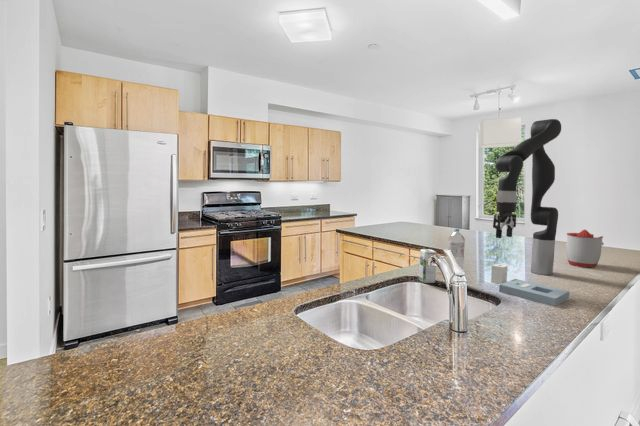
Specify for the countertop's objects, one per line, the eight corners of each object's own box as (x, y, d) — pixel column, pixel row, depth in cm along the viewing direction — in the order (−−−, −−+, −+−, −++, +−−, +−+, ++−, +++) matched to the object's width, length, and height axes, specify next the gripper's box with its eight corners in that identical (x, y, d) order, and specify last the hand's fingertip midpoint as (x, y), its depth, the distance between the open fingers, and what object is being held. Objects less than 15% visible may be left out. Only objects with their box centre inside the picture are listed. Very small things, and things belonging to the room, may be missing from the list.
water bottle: (455, 287, 141) (458, 230, 139) (442, 283, 147) (445, 228, 145) (466, 285, 144) (469, 229, 142) (453, 281, 150) (455, 227, 148)
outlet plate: (514, 285, 145) (515, 278, 145) (568, 298, 129) (569, 290, 128) (499, 291, 137) (499, 283, 136) (554, 306, 121) (555, 297, 120)
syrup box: (418, 279, 153) (419, 249, 152) (430, 279, 153) (431, 248, 152) (423, 283, 147) (424, 251, 146) (435, 283, 148) (437, 251, 146)
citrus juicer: (611, 269, 173) (615, 231, 171) (578, 269, 173) (581, 231, 171) (588, 262, 188) (591, 227, 186) (557, 261, 189) (560, 227, 187)
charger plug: (496, 280, 152) (497, 263, 151) (506, 283, 148) (507, 265, 147) (491, 282, 149) (492, 265, 148) (501, 285, 145) (502, 267, 145)
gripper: (506, 200, 152) (504, 235, 154) (489, 200, 145) (486, 237, 146) (523, 201, 146) (520, 237, 147) (506, 201, 139) (503, 239, 140)
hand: (503, 237), depth 147 cm, fingers open, 8 cm apart
